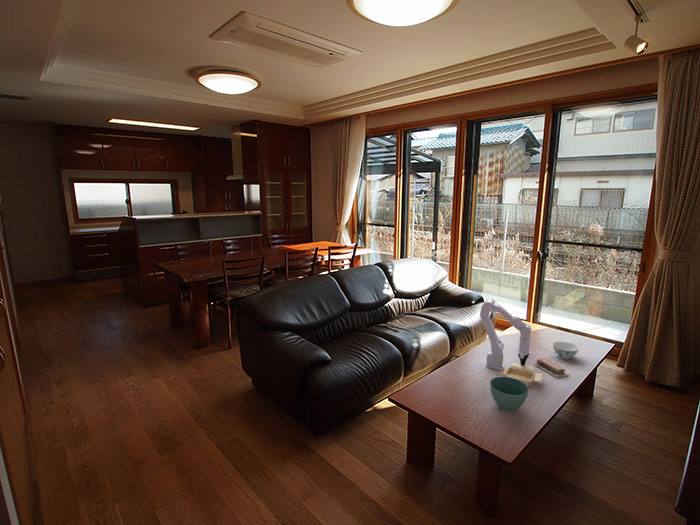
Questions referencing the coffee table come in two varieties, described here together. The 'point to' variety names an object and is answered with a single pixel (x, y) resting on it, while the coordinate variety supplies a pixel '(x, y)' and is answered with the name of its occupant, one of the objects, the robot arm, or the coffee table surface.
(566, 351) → the chinaware
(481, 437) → the coffee table surface
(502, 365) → the robot arm
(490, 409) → the coffee table surface
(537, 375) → the far flap
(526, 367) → the left flap
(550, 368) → the packaged product
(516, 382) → the teal green bowl
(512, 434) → the coffee table surface
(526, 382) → the carton
